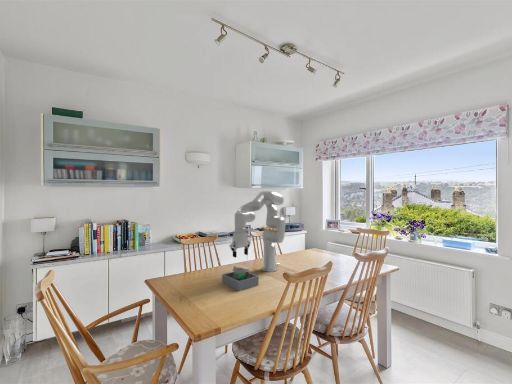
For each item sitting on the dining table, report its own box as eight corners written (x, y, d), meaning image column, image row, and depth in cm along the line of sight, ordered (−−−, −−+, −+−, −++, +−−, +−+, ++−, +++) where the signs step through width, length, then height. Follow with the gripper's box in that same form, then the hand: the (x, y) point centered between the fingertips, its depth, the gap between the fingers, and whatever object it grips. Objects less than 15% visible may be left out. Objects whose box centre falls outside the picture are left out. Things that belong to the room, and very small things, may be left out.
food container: (229, 282, 184) (229, 267, 184) (234, 279, 190) (234, 265, 190) (244, 285, 178) (244, 270, 178) (249, 283, 184) (249, 268, 183)
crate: (241, 278, 197) (241, 269, 197) (258, 285, 183) (258, 276, 183) (222, 283, 186) (222, 274, 186) (238, 291, 172) (238, 281, 172)
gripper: (246, 228, 192) (246, 252, 193) (226, 231, 181) (226, 256, 181) (253, 229, 187) (253, 254, 187) (233, 232, 175) (233, 259, 176)
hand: (240, 255), depth 184 cm, fingers open, 9 cm apart
